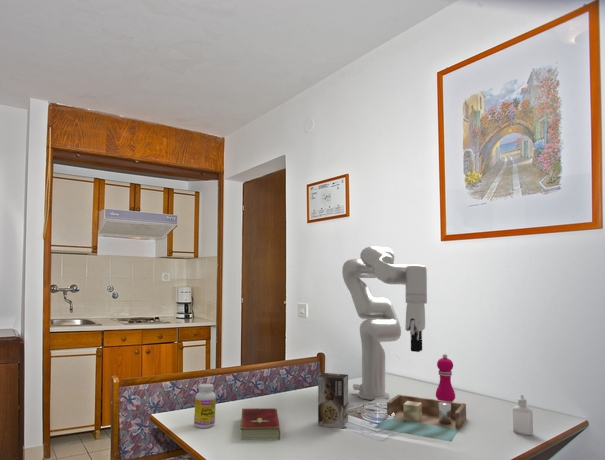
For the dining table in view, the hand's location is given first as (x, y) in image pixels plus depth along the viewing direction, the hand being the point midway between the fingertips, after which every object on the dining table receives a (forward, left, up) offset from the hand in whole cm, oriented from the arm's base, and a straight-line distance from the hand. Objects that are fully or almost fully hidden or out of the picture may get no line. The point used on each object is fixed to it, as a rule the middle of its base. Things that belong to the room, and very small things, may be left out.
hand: (416, 350), depth 169 cm
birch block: (0, -6, -22) cm, 23 cm away
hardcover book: (-40, -39, -24) cm, 61 cm away
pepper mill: (+6, +19, -23) cm, 31 cm away
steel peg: (+11, -4, -22) cm, 25 cm away
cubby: (+4, -9, -23) cm, 25 cm away
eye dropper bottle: (+34, +1, -23) cm, 41 cm away
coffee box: (-22, -23, -23) cm, 39 cm away
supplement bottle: (-58, -46, -23) cm, 77 cm away
